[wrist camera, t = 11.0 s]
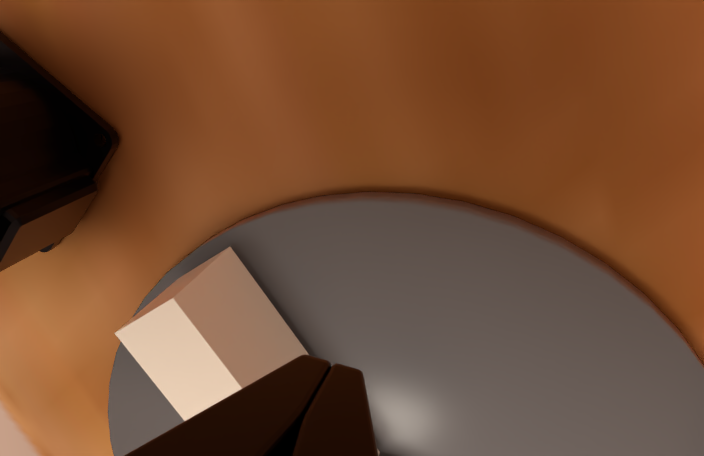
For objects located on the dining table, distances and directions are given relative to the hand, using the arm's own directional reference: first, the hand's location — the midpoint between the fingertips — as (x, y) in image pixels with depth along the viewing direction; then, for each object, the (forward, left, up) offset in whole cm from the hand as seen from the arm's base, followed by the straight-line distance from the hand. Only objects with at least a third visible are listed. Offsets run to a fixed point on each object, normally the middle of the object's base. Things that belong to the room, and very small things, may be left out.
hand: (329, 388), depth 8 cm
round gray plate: (+8, -11, -12) cm, 18 cm away
